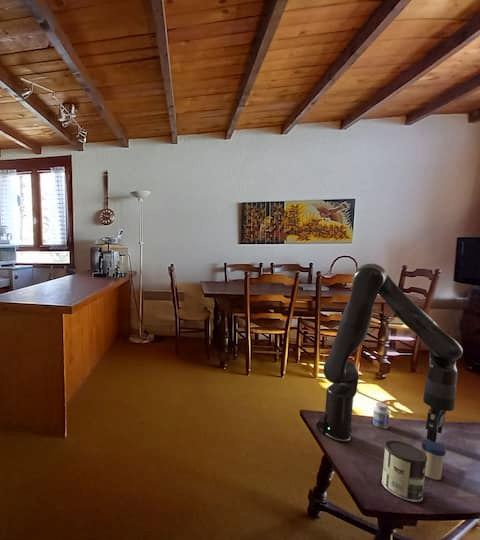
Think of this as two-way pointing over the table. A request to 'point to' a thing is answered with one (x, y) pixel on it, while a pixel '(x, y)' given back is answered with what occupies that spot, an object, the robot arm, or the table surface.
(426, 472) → the jar
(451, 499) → the table surface
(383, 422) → the pill bottle
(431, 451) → the lid
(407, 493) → the coffee can
